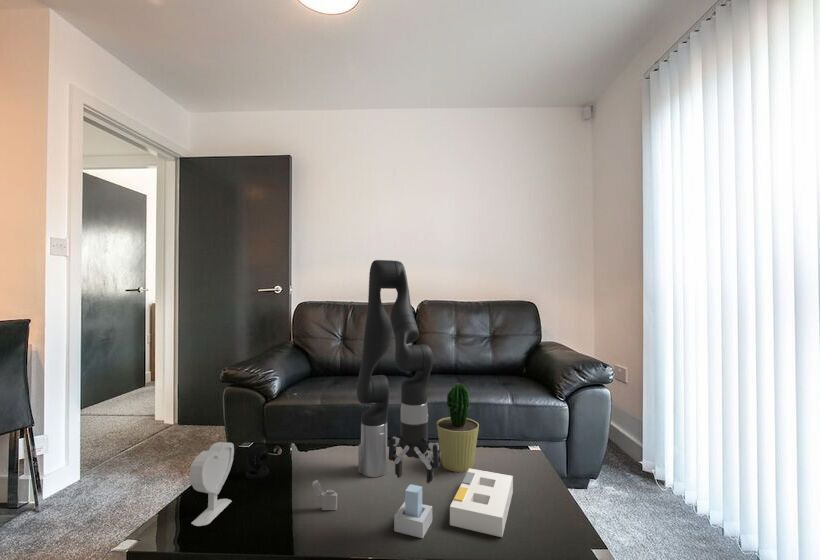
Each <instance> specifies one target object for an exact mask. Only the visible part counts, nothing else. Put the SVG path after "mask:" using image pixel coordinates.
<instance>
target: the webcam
mask: <svg viewBox="0 0 820 560" xmlns="http://www.w3.org/2000/svg"><path fill="white" fill-rule="evenodd" d="M268 460H269V449H268V448H267V446H266V445H265V444H256V445H255V446H253V448H251V449H250V450H249V452H248V454H247V458H246V463H247V466H248V467H249V468H250V469H248V470H247V471H246V472H245V477H246V478H247V479H249V480H261V479H263V478H266V477H267V476H268V475H269V474H270V469H269V468H268V467H267V466H264V465H265V464H266V463H267V462H268ZM252 473H256V474H252ZM265 476H266V477H265Z"/></svg>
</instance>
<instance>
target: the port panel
mask: <svg viewBox="0 0 820 560" xmlns="http://www.w3.org/2000/svg"><path fill="white" fill-rule="evenodd" d="M513 493H514V476H513V475H509V474H502V473H498V472H492V471H485V470H480V469H475V468H472V469H470V468H469V470H468V471H466V474H465V476H464V478H463V480H462V482H461V483H460V486H459V488H458V490H457V491H456V494H455V496H454V497H453V500H452V502H451V503H450V506H449V525H450V526H452V527H457V528H460V529H465V530H470V531H473V532H478V533H482V534H487V535H489V536H494V537H495V536H496V537H498V538H499V537H500V538H503V535H504V532H505V527H506V522H507V519H508V514H509V509H510V505H511V502H512V497H513Z"/></svg>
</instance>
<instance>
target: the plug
mask: <svg viewBox="0 0 820 560" xmlns="http://www.w3.org/2000/svg"><path fill="white" fill-rule="evenodd" d="M404 493H405V494H404V495H405V496H404V497H405V499H404V502H405V515H408V516H412V517H417V518H420V516H421V515H422V504H423V486H420V485H417V484H412V483H411V484H409V485H408V486H407V488H406V489H405V491H404Z"/></svg>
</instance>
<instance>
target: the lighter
mask: <svg viewBox="0 0 820 560" xmlns="http://www.w3.org/2000/svg"><path fill="white" fill-rule="evenodd" d="M311 486H312V488H313V490H314V491H315V495H316V497H317V498H319V497H321V511H322V510H336V511H337V509H338V492H335V491H334V489H327V490H326V491H325V492H324V491H323V489H322V486H321V484H320V482H319V479H316V480H314V481H313V482H312V483H311Z"/></svg>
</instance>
